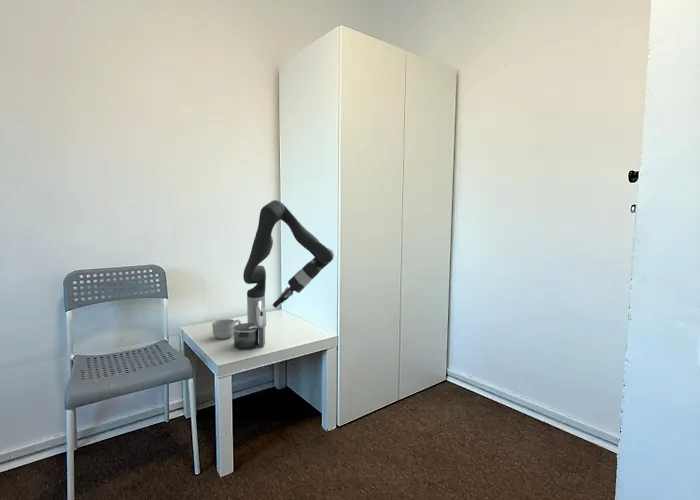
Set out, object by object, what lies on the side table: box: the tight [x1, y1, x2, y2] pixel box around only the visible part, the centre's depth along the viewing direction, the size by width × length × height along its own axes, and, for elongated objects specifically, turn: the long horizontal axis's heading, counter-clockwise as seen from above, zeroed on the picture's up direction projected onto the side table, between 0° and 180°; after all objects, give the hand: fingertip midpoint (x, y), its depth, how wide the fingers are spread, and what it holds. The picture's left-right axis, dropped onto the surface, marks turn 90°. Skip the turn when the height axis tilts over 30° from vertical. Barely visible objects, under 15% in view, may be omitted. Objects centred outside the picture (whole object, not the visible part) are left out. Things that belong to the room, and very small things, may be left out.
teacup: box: [211, 318, 242, 340], centre depth 200 cm, size 14×11×8 cm
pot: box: [233, 322, 266, 351], centre depth 188 cm, size 14×14×9 cm
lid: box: [256, 301, 263, 327], centre depth 187 cm, size 12×12×2 cm
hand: (274, 306), depth 187 cm, fingers closed
